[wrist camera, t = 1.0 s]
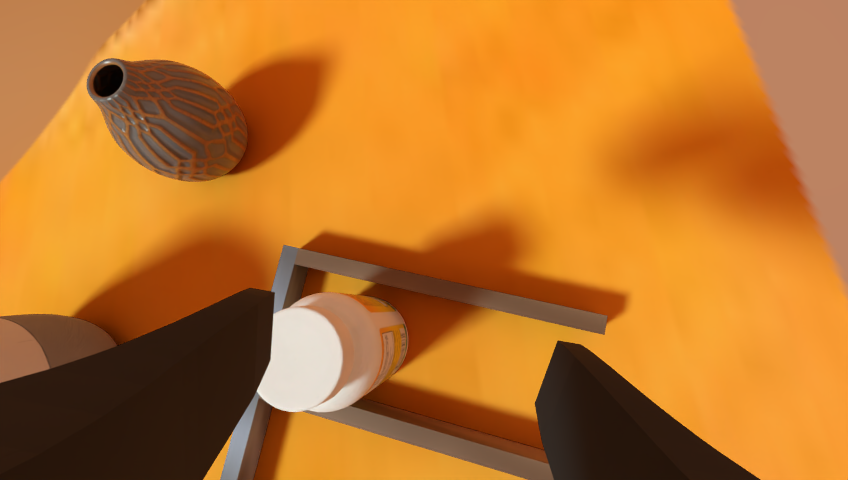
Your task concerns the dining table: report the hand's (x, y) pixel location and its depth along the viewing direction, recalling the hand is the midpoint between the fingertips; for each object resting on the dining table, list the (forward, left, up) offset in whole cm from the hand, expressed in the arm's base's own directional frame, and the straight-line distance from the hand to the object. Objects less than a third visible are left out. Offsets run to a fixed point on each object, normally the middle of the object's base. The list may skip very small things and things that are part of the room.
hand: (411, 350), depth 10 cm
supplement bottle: (-2, +5, -15) cm, 16 cm away
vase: (+8, +19, -15) cm, 25 cm away
